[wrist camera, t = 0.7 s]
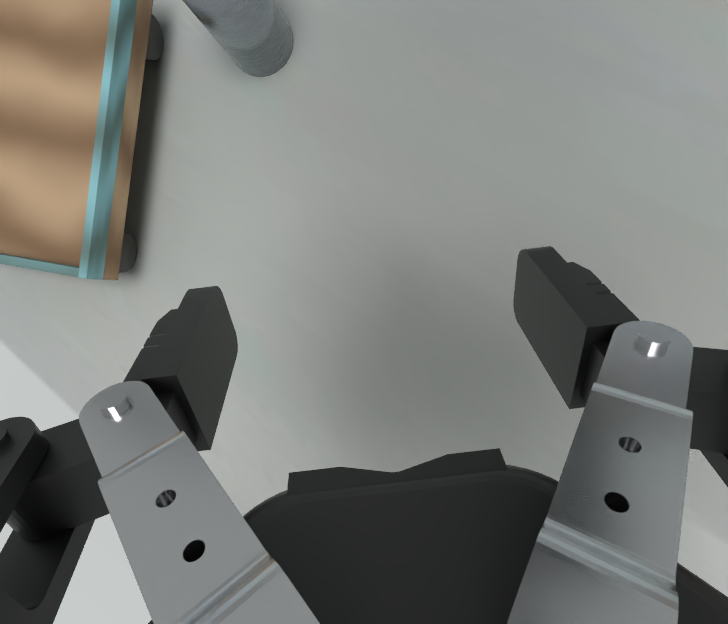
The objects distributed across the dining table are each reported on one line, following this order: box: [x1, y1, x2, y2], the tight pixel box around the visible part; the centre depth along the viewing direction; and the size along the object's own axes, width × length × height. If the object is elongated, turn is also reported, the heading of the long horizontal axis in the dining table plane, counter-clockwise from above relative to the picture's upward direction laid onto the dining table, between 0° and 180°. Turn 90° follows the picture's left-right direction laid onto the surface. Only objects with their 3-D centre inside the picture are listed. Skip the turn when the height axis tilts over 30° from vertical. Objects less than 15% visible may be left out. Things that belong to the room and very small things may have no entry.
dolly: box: [0, 0, 163, 280], centre depth 33 cm, size 20×14×6 cm
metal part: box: [183, 0, 293, 77], centre depth 28 cm, size 5×5×10 cm
